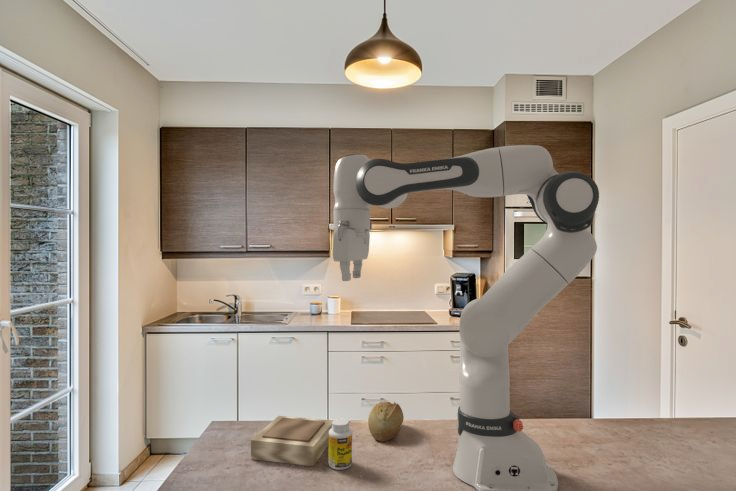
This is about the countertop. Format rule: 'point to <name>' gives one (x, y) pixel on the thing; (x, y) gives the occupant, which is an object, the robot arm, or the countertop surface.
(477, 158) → the robot arm
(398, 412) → the bread roll
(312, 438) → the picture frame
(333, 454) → the supplement bottle
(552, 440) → the countertop surface
